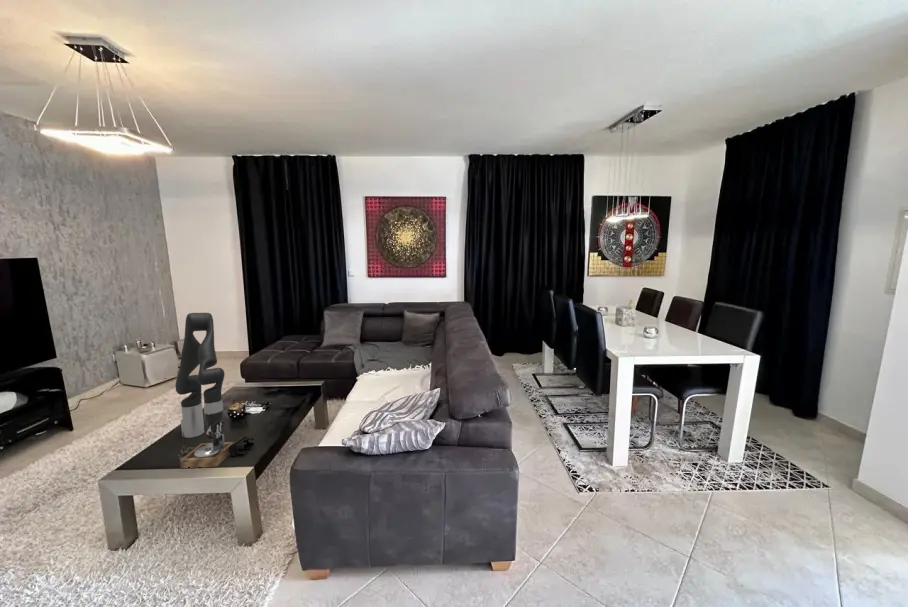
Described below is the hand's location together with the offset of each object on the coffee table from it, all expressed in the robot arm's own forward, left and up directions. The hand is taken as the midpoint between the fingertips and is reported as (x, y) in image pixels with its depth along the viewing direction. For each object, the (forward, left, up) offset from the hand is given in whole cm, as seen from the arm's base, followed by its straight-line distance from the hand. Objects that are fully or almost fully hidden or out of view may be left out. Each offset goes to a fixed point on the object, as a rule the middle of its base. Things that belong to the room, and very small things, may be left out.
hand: (216, 445), depth 176 cm
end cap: (+7, +8, -8) cm, 14 cm away
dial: (-5, +3, -5) cm, 8 cm away
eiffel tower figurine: (-19, +7, -9) cm, 22 cm away
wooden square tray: (-6, +3, -8) cm, 10 cm away
